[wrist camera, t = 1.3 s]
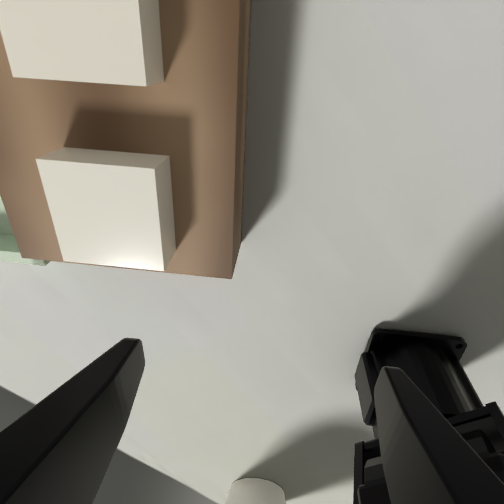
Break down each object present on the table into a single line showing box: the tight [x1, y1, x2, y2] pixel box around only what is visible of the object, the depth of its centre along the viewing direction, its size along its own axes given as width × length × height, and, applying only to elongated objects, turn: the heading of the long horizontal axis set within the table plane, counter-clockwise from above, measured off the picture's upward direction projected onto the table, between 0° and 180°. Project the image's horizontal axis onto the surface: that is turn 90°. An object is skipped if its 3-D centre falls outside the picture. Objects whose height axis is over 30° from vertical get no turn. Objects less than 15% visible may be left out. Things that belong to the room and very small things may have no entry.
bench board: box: [0, 0, 251, 279], centre depth 17 cm, size 12×16×4 cm
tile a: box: [36, 147, 176, 271], centre depth 16 cm, size 5×5×2 cm
